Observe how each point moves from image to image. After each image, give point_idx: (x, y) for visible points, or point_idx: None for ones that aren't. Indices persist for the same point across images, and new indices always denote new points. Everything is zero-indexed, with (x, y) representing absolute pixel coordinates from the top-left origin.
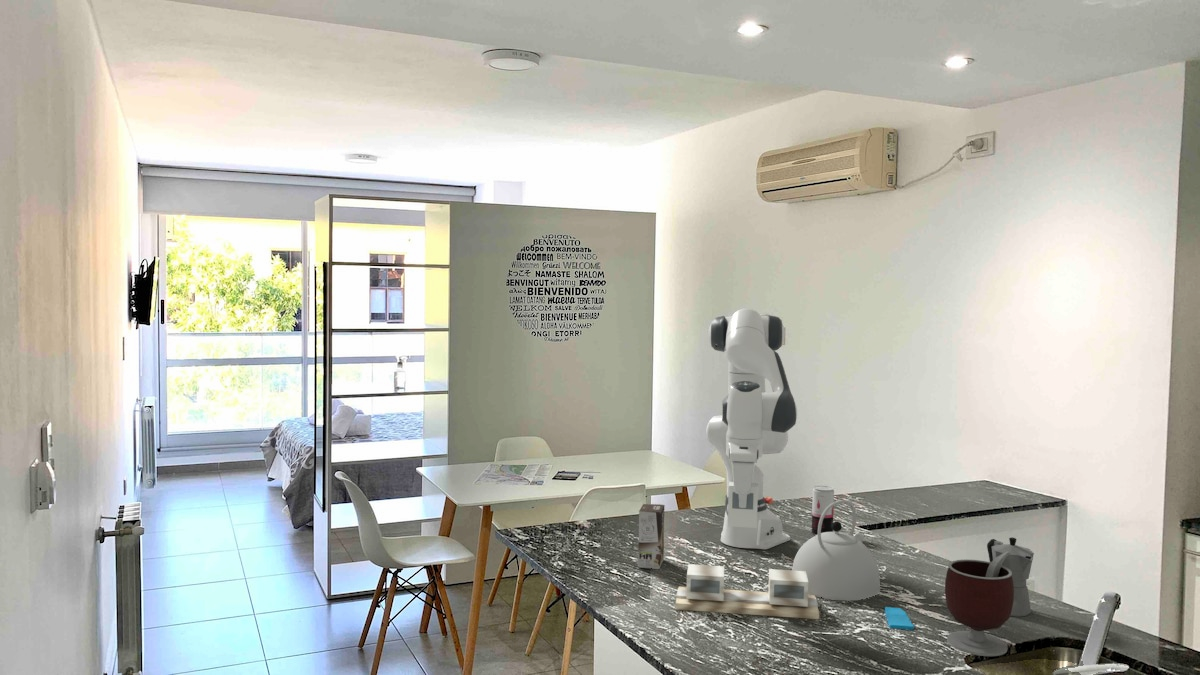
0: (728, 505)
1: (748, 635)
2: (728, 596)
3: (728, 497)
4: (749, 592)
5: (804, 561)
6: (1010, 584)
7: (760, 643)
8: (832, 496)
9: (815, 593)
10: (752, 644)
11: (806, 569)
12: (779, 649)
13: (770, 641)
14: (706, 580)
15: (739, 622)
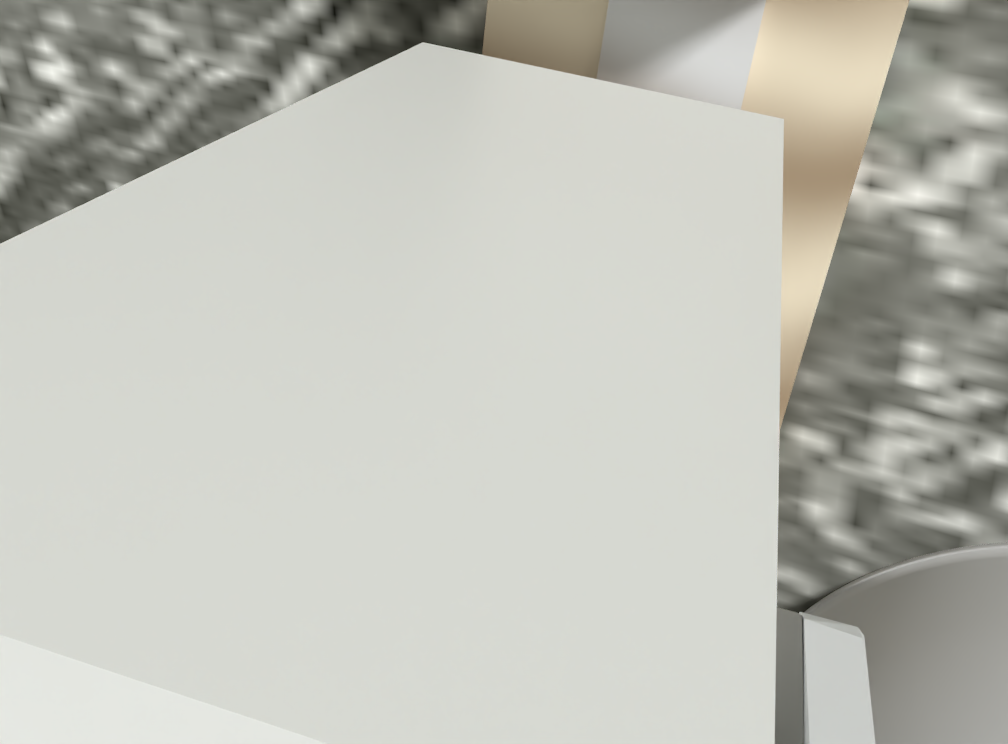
0: (218, 152)
1: (151, 28)
2: None
3: (56, 227)
4: (817, 179)
5: (995, 730)
6: None
7: (61, 81)
8: None
9: (825, 610)
10: (35, 29)
11: (932, 688)
12: (17, 171)
13: (101, 146)
14: None
15: (342, 2)
